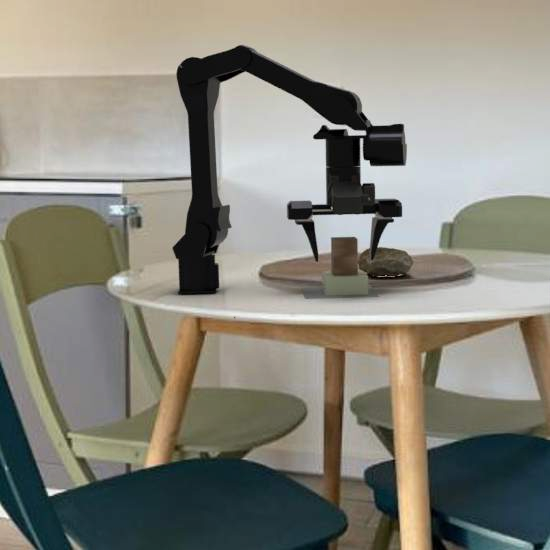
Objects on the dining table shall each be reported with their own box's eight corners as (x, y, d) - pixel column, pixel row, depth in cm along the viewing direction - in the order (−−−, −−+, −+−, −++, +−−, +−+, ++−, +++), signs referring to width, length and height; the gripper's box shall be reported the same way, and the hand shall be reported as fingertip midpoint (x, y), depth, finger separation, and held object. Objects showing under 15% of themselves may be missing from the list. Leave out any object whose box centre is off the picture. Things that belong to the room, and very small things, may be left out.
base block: (325, 295, 153) (325, 277, 153) (322, 288, 160) (322, 271, 160) (368, 294, 153) (368, 276, 153) (363, 287, 160) (362, 270, 160)
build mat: (305, 301, 151) (305, 298, 151) (301, 289, 163) (301, 287, 162) (379, 298, 151) (379, 296, 151) (369, 287, 163) (369, 285, 163)
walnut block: (333, 275, 154) (333, 239, 153) (331, 272, 158) (331, 237, 157) (357, 275, 154) (357, 239, 153) (355, 272, 158) (354, 236, 157)
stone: (425, 270, 169) (399, 237, 168) (393, 299, 169) (366, 265, 167) (403, 263, 182) (378, 232, 180) (373, 290, 181) (347, 259, 179)
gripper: (288, 169, 146) (290, 268, 148) (407, 166, 146) (408, 265, 148) (285, 167, 157) (287, 260, 159) (396, 165, 157) (396, 257, 159)
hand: (344, 260), depth 156 cm, fingers open, 9 cm apart
